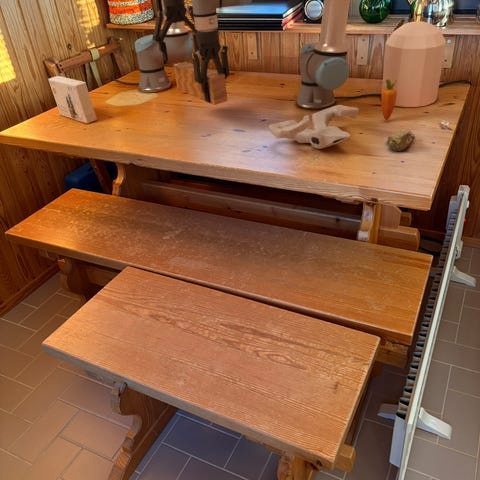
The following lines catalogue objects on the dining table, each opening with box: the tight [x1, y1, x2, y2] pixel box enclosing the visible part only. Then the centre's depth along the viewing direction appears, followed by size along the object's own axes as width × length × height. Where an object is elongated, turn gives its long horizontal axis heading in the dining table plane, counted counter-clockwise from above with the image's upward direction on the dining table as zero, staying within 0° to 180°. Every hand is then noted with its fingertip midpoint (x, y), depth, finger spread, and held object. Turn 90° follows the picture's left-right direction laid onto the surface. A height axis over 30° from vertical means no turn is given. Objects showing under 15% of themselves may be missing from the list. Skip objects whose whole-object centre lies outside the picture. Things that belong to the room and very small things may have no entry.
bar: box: [173, 61, 228, 106], centre depth 170 cm, size 28×6×9 cm, turn 34°
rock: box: [387, 129, 416, 152], centre depth 146 cm, size 11×6×10 cm
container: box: [380, 20, 447, 108], centre depth 175 cm, size 21×21×28 cm
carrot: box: [380, 79, 397, 122], centre depth 161 cm, size 5×5×15 cm
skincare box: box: [47, 75, 98, 124], centre depth 192 cm, size 21×6×16 cm, turn 49°
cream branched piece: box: [268, 104, 360, 150], centre depth 153 cm, size 28×26×12 cm
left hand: (182, 56), depth 173 cm, fingers open, 13 cm apart
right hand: (215, 99), depth 165 cm, fingers closed on bar, 5 cm apart
